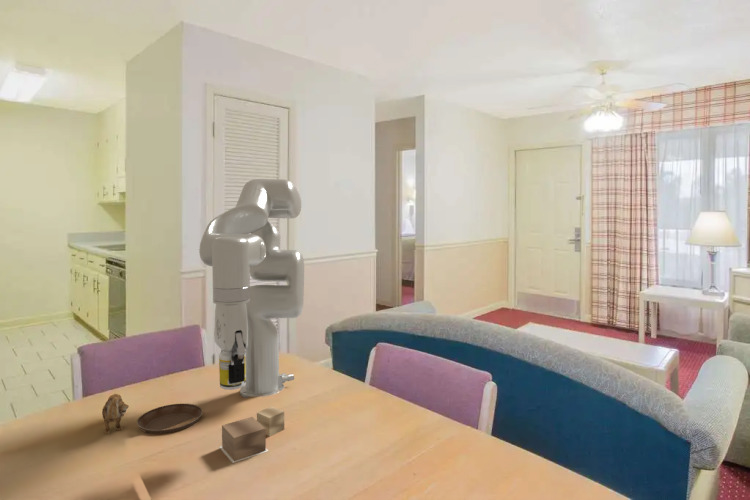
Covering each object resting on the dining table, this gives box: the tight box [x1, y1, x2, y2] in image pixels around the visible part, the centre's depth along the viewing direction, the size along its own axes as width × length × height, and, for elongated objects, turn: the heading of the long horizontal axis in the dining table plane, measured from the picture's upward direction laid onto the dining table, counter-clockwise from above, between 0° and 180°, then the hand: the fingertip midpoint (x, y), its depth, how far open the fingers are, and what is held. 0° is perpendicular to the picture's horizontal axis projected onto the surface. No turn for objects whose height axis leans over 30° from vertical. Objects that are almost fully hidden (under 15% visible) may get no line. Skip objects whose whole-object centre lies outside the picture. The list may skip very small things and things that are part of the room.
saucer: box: [136, 403, 203, 434], centre depth 113 cm, size 15×15×3 cm
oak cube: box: [256, 405, 285, 437], centre depth 109 cm, size 4×4×4 cm
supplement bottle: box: [218, 346, 246, 391], centre depth 99 cm, size 5×5×10 cm
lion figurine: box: [101, 393, 129, 435], centre depth 112 cm, size 15×5×9 cm, turn 35°
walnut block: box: [221, 416, 267, 461], centre depth 100 cm, size 7×7×5 cm
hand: (232, 376), depth 99 cm, fingers closed on supplement bottle, 5 cm apart
